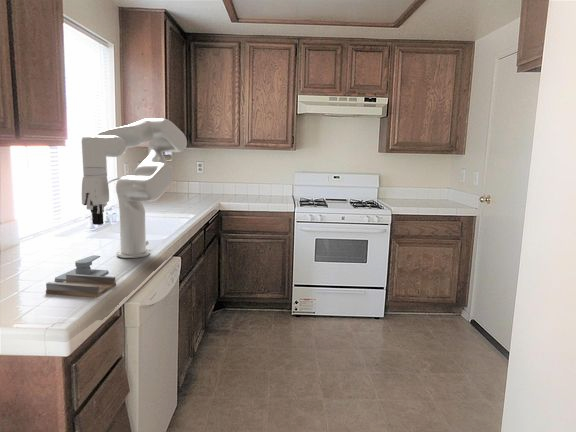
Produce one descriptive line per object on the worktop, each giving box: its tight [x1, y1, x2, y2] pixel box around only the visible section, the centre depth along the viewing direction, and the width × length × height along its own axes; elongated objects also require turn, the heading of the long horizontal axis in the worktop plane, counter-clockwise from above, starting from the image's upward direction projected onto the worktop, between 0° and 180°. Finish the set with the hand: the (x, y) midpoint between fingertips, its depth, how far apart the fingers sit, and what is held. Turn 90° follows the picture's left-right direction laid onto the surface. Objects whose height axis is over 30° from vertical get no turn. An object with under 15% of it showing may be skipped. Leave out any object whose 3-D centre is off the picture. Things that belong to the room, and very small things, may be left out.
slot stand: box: [45, 274, 117, 298], centre depth 132 cm, size 11×16×3 cm
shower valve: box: [54, 255, 109, 283], centre depth 145 cm, size 12×6×15 cm
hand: (98, 224), depth 152 cm, fingers closed
